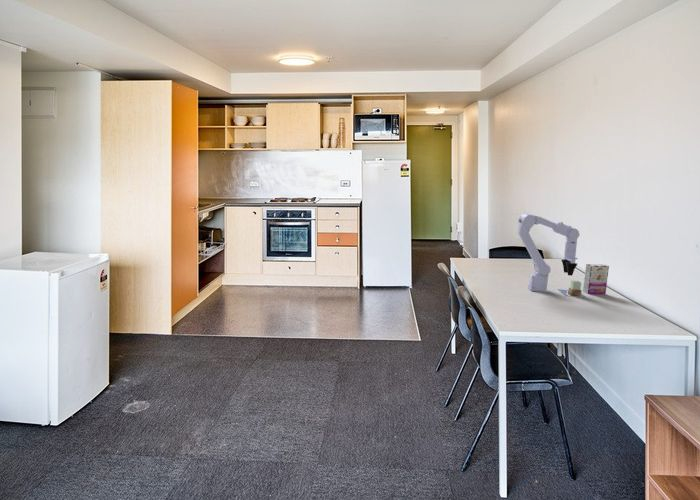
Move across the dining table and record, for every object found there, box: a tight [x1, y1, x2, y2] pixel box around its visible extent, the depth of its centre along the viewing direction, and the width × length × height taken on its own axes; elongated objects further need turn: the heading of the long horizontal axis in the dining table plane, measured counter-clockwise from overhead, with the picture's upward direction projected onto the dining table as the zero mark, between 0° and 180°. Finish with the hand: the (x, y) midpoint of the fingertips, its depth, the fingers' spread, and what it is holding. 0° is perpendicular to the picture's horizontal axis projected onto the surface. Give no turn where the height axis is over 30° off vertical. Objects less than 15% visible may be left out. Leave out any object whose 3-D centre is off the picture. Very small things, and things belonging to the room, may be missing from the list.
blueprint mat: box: [557, 288, 588, 299], centre depth 277 cm, size 11×16×1 cm
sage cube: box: [569, 280, 582, 290], centre depth 272 cm, size 4×4×4 cm
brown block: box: [568, 287, 583, 298], centre depth 273 cm, size 5×5×4 cm
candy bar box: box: [582, 263, 610, 295], centre depth 280 cm, size 11×5×16 cm, turn 101°
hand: (568, 273), depth 279 cm, fingers open, 7 cm apart
